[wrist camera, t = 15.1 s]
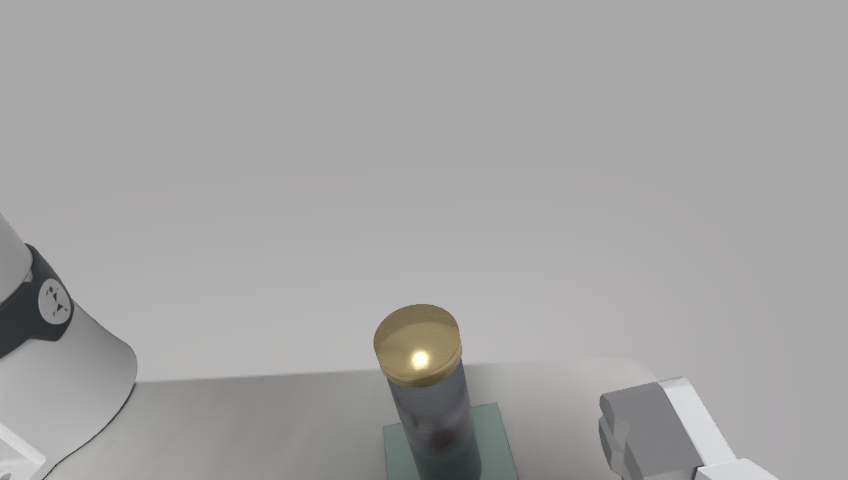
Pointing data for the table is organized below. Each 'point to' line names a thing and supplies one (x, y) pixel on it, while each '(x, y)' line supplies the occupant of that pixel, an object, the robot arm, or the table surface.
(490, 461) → the mat
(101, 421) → the robot arm
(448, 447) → the pepper mill
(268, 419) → the table surface
